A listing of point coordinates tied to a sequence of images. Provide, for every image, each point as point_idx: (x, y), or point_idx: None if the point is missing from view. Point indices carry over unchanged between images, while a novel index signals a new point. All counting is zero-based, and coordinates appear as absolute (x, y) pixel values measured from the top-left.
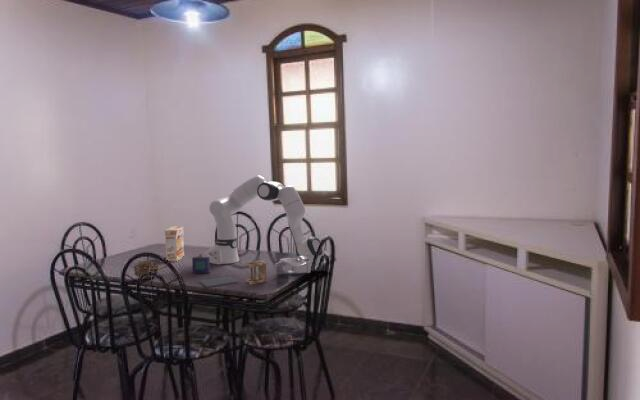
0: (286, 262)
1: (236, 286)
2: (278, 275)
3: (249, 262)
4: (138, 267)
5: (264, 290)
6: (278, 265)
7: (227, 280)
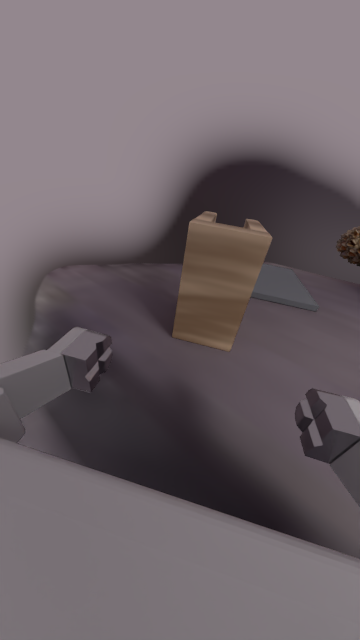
0: (248, 524)
1: None
2: (271, 507)
3: (254, 222)
4: (349, 231)
5: (89, 280)
6: (310, 435)
7: (264, 285)
